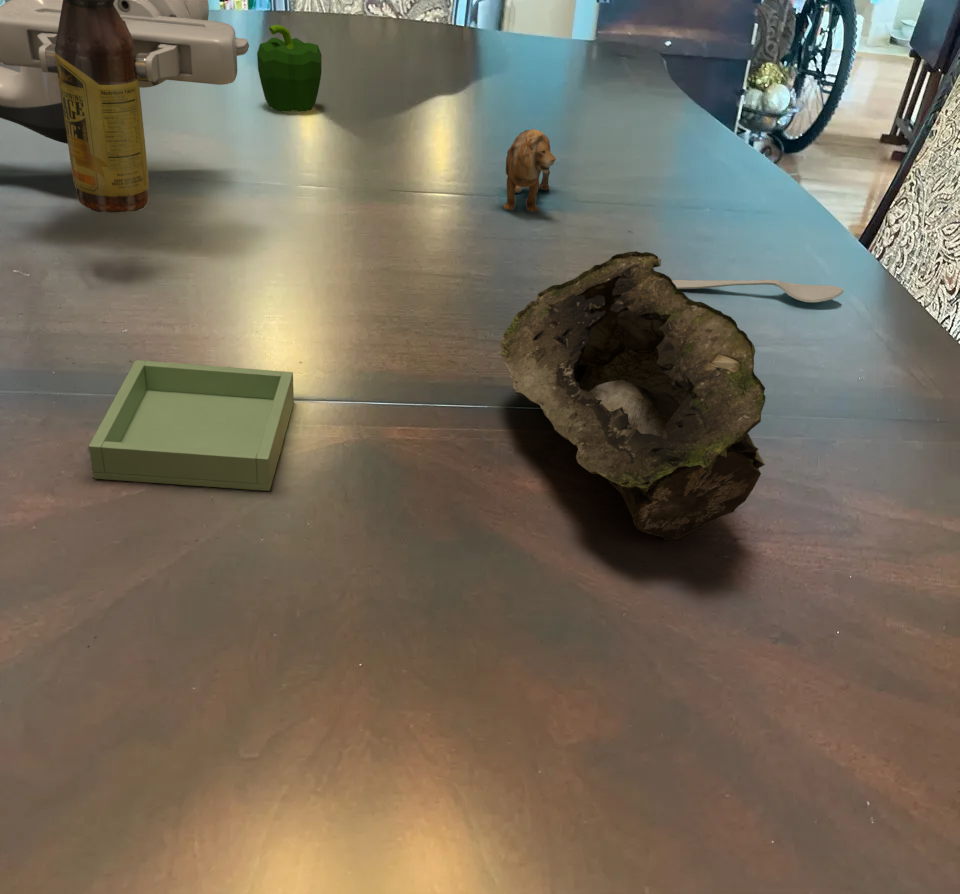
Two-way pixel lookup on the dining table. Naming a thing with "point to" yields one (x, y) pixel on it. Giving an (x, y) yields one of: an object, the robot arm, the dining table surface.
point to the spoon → (794, 290)
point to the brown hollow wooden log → (644, 390)
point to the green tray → (195, 426)
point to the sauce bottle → (101, 107)
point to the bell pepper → (289, 72)
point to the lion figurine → (528, 167)
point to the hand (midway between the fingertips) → (95, 66)
